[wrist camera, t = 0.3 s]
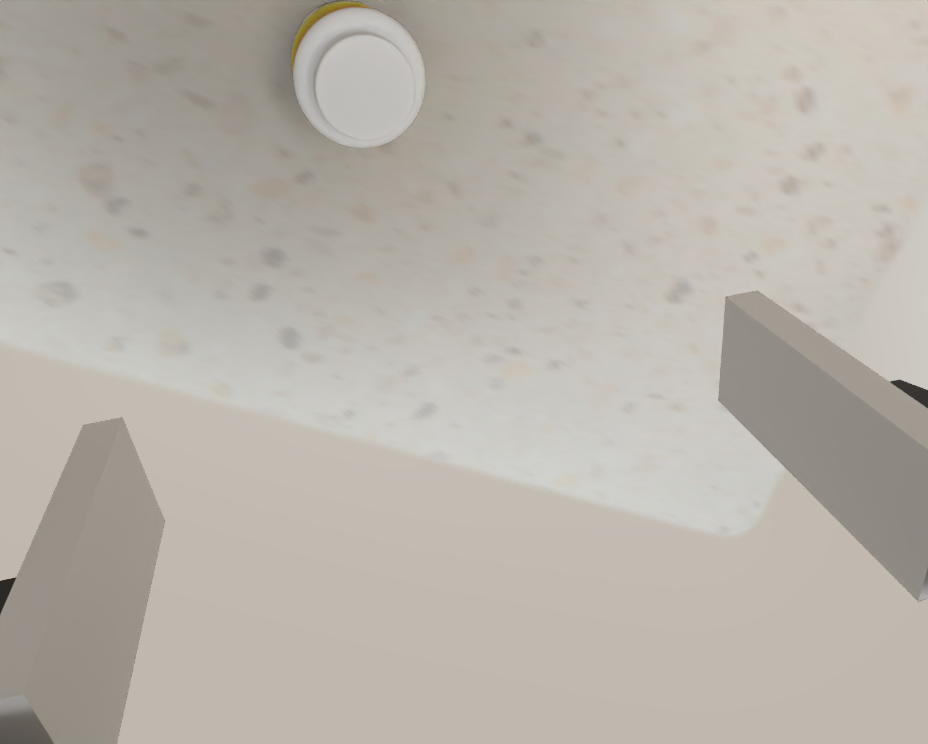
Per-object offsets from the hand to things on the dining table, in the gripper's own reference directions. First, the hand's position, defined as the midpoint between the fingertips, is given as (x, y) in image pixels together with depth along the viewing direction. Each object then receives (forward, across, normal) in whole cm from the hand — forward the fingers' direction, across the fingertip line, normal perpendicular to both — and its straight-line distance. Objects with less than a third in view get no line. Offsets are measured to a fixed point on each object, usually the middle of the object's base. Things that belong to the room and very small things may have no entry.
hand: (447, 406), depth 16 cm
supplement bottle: (+28, +1, +4) cm, 28 cm away
